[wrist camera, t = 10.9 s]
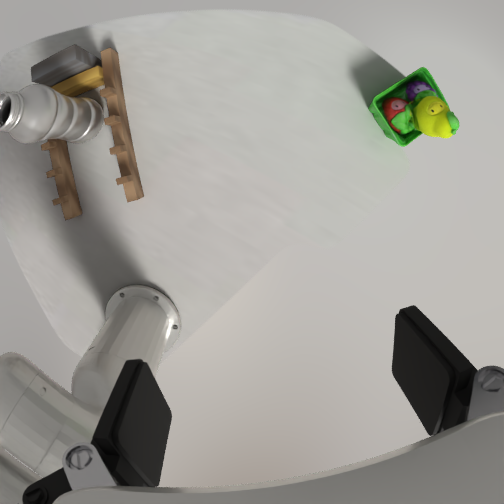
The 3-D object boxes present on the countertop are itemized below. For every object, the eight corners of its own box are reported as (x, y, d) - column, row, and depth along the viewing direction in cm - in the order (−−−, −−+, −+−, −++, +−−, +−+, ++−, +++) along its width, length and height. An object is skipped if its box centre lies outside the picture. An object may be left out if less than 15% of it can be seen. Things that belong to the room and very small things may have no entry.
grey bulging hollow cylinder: (63, 122, 37) (-29, 117, 18) (94, 90, 36) (9, 62, 17) (84, 153, 38) (-7, 162, 19) (117, 121, 37) (34, 105, 18)
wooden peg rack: (144, 196, 41) (121, 207, 32) (74, 216, 41) (43, 231, 33) (117, 53, 34) (92, 34, 26) (50, 82, 34) (17, 73, 26)
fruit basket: (407, 71, 36) (450, 55, 26) (437, 119, 39) (483, 116, 28) (356, 104, 38) (392, 92, 27) (389, 155, 41) (431, 159, 30)
